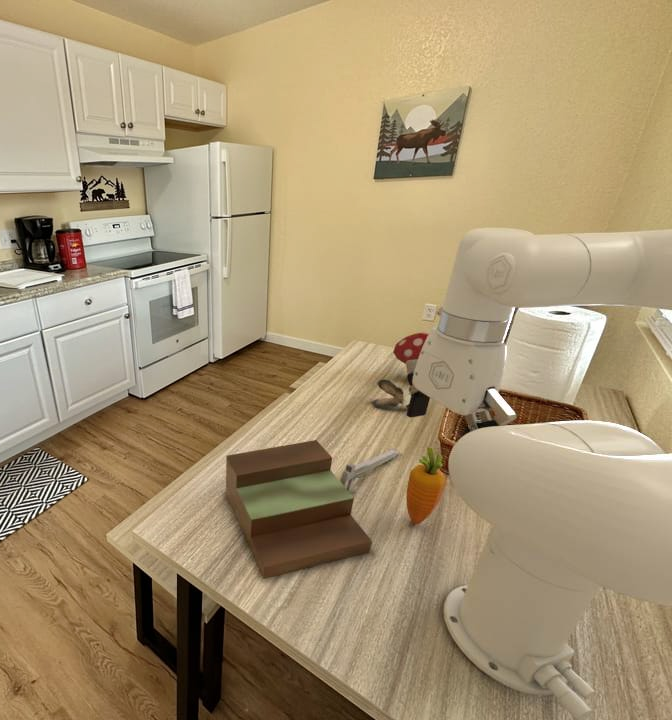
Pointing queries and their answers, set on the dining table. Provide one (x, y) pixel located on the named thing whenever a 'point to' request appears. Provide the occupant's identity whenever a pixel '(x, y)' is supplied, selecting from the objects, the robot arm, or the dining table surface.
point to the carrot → (425, 487)
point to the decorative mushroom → (410, 347)
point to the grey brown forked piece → (393, 391)
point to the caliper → (364, 468)
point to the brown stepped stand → (292, 508)
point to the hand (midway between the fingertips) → (439, 432)
